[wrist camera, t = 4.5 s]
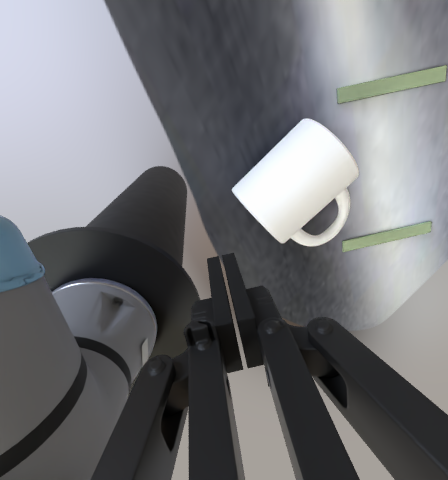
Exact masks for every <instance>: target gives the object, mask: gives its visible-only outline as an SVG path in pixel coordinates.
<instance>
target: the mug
mask: <svg viewBox="0 0 448 480" xmlns="http://www.w3.org/2000/svg"><path fill="white" fill-rule="evenodd" d="M358 175H359V169H358V166H357V164H356V162H355V160H354V158H353V156H352V155H351V153H350V152H349V151H348V149H347V148H346V147H345V145H344V144H343V143H342V142H341V141H340V140H339V139H338V138H337V137H336V136H335V135H334V134H333V133H332V132H331V131H329V130H328V129H327V128H326V127H324V126H323V125H321V124H320V123H318V122H316V121H314V120H312V119H303V120H301V121H300V122H299V123H298V124H297V125H296V126H295V127H294V128H293V129H292V130H291V131H290V132H289V133H288V134H287V135H286V136H285V137H284V138H283V139H282V140H281V141H280V142H279V143H278V144H277V145H276V146H275V147H274V148H273V149H272V150H271V151H270V152H269V153H268V154H267V155H266V156H265V157H264V158H263V159H262V160H261V161H260V162H259V163H258V164H257V165H256V166H255V167H254V168H253V169H252V170H251V171H250V172H249V173H247V174H246V175H245V176H244V177H243V178H242V179H241V180H240V181H239V182H238V183H237V184H236V185H235V186H234V187H233V188H232V192H233V193H234V195H235V196H236V197H237V198H238V200H239V201H240V202H241V203H242V204H243V205H244V206H245V207H246V209H247V210H248V211H249V212H250V213H251V214H252V215H253V216H254V217H255V218H256V219H257V220H258V221H259V223H260V224H261V225H262V226H263V227H264V228H265V229H266V230H267V231H268V232H269V233H270V234H271V235H272V236H273V237H274V238H276V239H277V240H278V241H279V242H280V243H285V242H286V241H287V240H288V239H289V238H291V239H293V240H294V241H296V242H297V243H299V244H302V245H305V246H318V245H321V244H324V243H326V242H328V241H329V240H331V239H332V238H333V237H335V236H336V235H337V234H338V232H339V231H340V230H341V229H342V227H343V225H344V224H345V222H346V220H347V217H348V214H349V211H350V195H349V192H348V190H347V188H346V187H348V186H349V185H350V184H351V183H352V182H353V181H354V180H355V179H356V178H357V177H358ZM334 198H335V199H336V201H337V204H338V209H339V212H338V215H337V217H336V219H335V221H334V222H333V223H332V224H331V225H330V227H329V228H328V229H326V230H325V231H324V232H323V233H321V234H320V235H317V236H314V235H310V234H308V233H306V232H305V231H303V230H302V229H301V228H302V227H303V226H304V225H305V224H306V223H307V222H308V221H309V220H311V219H312V218H313V217H314V216H315V215H316V214H317V213H318V212H320V211H321V210H322V209H323V208H324V207H325V206H326V205H327V204H329V203H330V202H331V201H332V200H333V199H334Z"/></svg>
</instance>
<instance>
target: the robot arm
mask: <svg viewBox="0 0 448 480" xmlns="http://www.w3.org/2000/svg"><path fill="white" fill-rule="evenodd" d="M222 258H223V262H224V267H225V271H226V276H227V280H228V285H229V289H230V294H231V298H232V302H233V306H234V310H235V315H236V319H237V324H238V327H239V332H240V337H241V341H242V345H243V350H244V354H245V358H246V362H247V367H248V368H251V367H256V366H260V365H265V371H266V375H267V381H268V386H270V389H271V393H272V396H273V400H274V403H275V407H276V411H277V414H278V418H279V421H280V425H281V428H282V432H283V435H284V439H285V442H286V446H287V449H288V452H289V457H290V460H291V464H292V467H293V471H294V474H295V478H296V480H360V479H359V477H358V475H357V473H356V471H355V469H354V466H353V464H352V462H351V460H350V458H349V456H348V454H347V452H346V450H345V447H344V445H343V443H342V440H341V439H340V436H339V434H338V432H337V430H336V428H335V425H334V423H333V421H332V419H331V417H330V415H329V412H328V411H327V408H326V406H325V404H324V402H323V399H322V397H321V395H320V393H319V391H318V389H317V387H316V385H315V382H314V380H315V381H316V382H317V383H318V385H319V386H320V387H321V388H322V389H323V391H324V392H325V393H326V394H327V396H328V397H329V398H330V400H331V401H332V402H333V403H334V405H335V406H336V407H337V408H338V410H339V411H340V412H341V413H342V415H343V416H344V417H345V418H346V420H347V421H348V422H349V423H350V424H351V426H352V427H353V428H354V429H355V431H356V432H357V433H358V434H359V436H360V437H361V438H362V439H363V441H364V442H365V443H366V444H367V446H368V447H369V448H370V449H371V450H372V452H373V453H374V454H375V455H376V457H377V458H378V459H379V460H380V462H381V463H382V464H383V465H384V467H386V469H387V470H388V471H389V473H390V474H391V475H392V477H393V478H394V479H395V480H448V415H447V414H446V413H445V412H444V411H442V410H441V409H440V408H439V407H438V406H436V405H435V404H434V403H433V402H431V401H430V400H429V399H428V398H427V397H426V396H424V395H423V394H422V393H421V392H420V391H419V390H417V389H416V388H415V387H414V386H412V385H411V384H410V383H409V382H408V381H406V380H405V379H404V378H403V377H402V376H401V375H399V374H398V373H397V372H396V371H395V370H394V369H392V368H391V367H390V366H389V365H388V364H386V363H385V362H384V361H383V360H382V359H380V358H379V357H378V356H377V355H376V354H374V353H373V352H372V351H371V350H370V349H369V348H367V347H366V346H365V345H364V344H363V343H361V342H360V341H359V340H358V339H357V338H355V337H354V336H353V335H352V334H351V333H349V332H348V331H347V330H346V329H345V328H344V327H342V326H341V325H340V324H339V323H338V322H336V321H335V320H333V319H330V318H326V317H318V318H315V319H313V320H311V321H310V322H309V323H308V325H307V327H297V326H292V325H289V324H287V323H286V322H285V320H283V319H282V318H281V316H280V314H279V312H278V309H277V307H276V305H275V303H274V301H273V299H272V297H271V295H270V292H269V290H268V289H266V288H265V287H263V286H258V287H254V288H250V289H246V288H245V285H244V282H243V279H242V276H241V273H240V270H239V267H238V264H237V261H236V258H235V255H234V253H230V254H226V255H222ZM207 263H208V271H209V280H210V288H211V297H212V298H209V299H204V300H200V301H196V302H195V303H194V305H193V306H192V308H191V315H192V316H191V320H192V321H191V323H189V324H188V325H187V326H186V327H185V329H184V335H185V338H186V341H187V345H188V349H187V350H186V351H185V352H184V353H182V354H181V355H179V356H177V357H175V358H173V359H171V357H169V356H167V355H158V356H155V357H153V358H151V359H150V360H148V358H149V356H150V355H151V352H152V350H153V347H154V344H155V340H156V334H157V322H156V317H155V314H154V312H153V310H152V308H151V306H150V305H149V304H148V302H147V301H146V300H145V299H144V298H143V297H142V296H141V295H140V294H139V293H137V292H136V291H135V290H133V289H132V288H130V287H128V286H126V285H124V284H121V283H119V282H116V281H112V280H108V279H101V278H85V279H78V280H74V281H71V282H68V283H65V284H63V285H61V286H60V287H58V288H56V289H55V290H54V291H52V292H51V290H50V288H49V286H48V283H47V281H46V279H45V277H44V273H45V269H44V266H43V265H42V264H41V263H39V262H38V261H37V260H36V258H35V256H34V255H33V253H32V251H31V249H30V248H29V246H28V244H27V242H26V240H25V239H24V237H23V235H22V233H21V232H20V230H19V229H18V228H17V226H16V225H15V224H14V223H13V222H11V221H10V220H9V219H7V218H5V217H3V216H0V480H171V477H172V474H173V469H174V465H175V461H176V457H177V453H178V449H179V445H180V441H181V436H182V432H183V428H184V424H185V420H186V415H187V411H188V406H189V480H245V476H244V470H243V464H242V458H241V451H240V445H239V439H238V433H237V427H236V421H235V415H234V409H233V403H232V397H231V391H230V385H229V380H228V376H227V373H230V372H234V371H239V370H243V366H242V361H241V356H240V352H239V347H238V342H237V337H236V333H235V328H234V324H233V319H232V314H231V309H230V305H229V300H228V295H227V291H226V286H225V282H224V277H223V273H222V268H221V264H220V260H219V256H217V257H213V258H208V259H207ZM147 360H148V361H147ZM142 366H143V367H142ZM141 368H142V369H141ZM140 369H141V371H140ZM139 371H140V373H139ZM138 373H139V376H138V378H137V380H136V382H135V384H134V386H133V389H132V391H131V393H130V395H129V391H130V386H131V384H132V382H133V380H134V379H135V377H136V376H137V374H138ZM312 376H313V378H314V380H313V378H312ZM128 395H129V397H128Z"/></svg>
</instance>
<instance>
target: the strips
mask: <svg viewBox="0 0 448 480" xmlns="http://www.w3.org/2000/svg"><path fill="white" fill-rule="evenodd" d="M446 69H447V65H445V66H441V67H436V68H431V69H427V70H422V71H417V72H412V73H408V74H403V75H398V76H393V77H389V78H384V79H379V80H375V81H370V82H365V83H360V84H356V85H351V86H346V87H342V88H337V100H338V104H339V103H344V102H349V101H354V100H358V99H363V98H368V97H372V96H377V95H382V94H386V93H391V92H396V91H400V90H405V89H410V88H415V87H419V86H424V85H429V84H433V83H438V82H443V81H445V79H446ZM431 223H432V222H430V221H429V222H425V223H420V224H416V225H412V226H407V227H403V228H398V229H394V230H389V231H385V232H380V233H376V234H372V235H367V236H363V237H358V238H354V239H349V240H345V241H342V246H343V252H346V251H350V250H355V249H359V248H364V247H368V246H372V245H377V244H381V243H386V242H390V241H394V240H399V239H403V238H408V237H412V236H416V235H421V234H425V233H430V232H431Z"/></svg>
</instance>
